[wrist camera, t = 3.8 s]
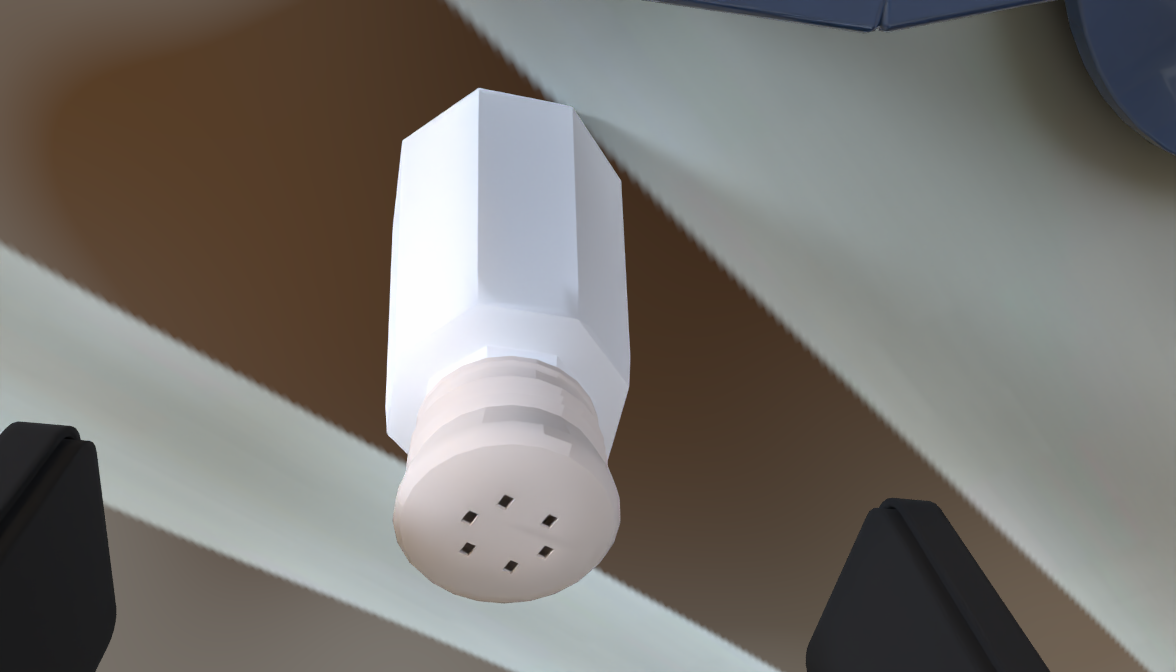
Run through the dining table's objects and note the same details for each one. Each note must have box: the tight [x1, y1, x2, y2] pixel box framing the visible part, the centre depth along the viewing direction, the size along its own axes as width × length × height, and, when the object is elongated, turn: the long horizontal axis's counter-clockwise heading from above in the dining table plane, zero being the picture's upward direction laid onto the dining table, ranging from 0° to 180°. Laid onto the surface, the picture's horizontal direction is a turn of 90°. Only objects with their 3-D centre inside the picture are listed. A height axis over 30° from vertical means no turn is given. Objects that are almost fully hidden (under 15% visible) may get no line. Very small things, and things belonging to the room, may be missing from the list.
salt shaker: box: [386, 88, 630, 603], centre depth 15 cm, size 5×5×11 cm
